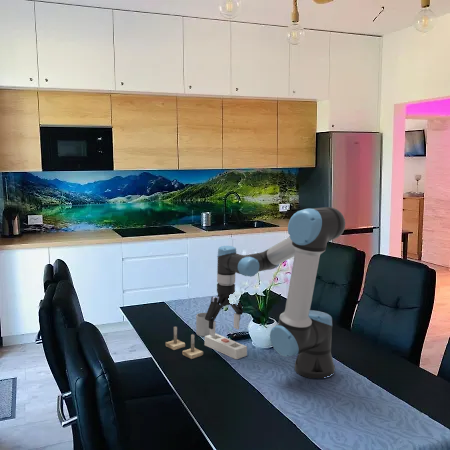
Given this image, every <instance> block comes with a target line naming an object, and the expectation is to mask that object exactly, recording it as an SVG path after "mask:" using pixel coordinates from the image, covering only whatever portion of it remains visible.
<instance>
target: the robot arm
mask: <svg viewBox="0 0 450 450" xmlns="http://www.w3.org/2000/svg"><path fill="white" fill-rule="evenodd" d="M287 224H288V225H287V233H288V235H289V237H286V238H285V239H283V240H281V241H280V242H277V243H276V244H274V245H273V246H271V247H269V248H268V249H265V250H264V251H261V252H256V253H250V254H245V255H244V254H239V253H237V248H236V247H235V246H233V245H221V246H219V247H218V250H217V256H216V257H217V269H216V270H217V271H216V273H217V275H216V278H217V279H216V282H217V284H216V293H217V296H211V299H210V303H209V306H208V309H207V312H206V313H207V314H206V316H205V320H207V321H209V328H210V335H211V336H213V337H215V333H216V324H217V322H216V318H217V316H218V314H219V313H220V311H221V310H222V309H223V308H224V307H226V306H231V308H232V310H234V313H233V328H234V329H236V330H240V321H241V316H242V315H243V313H244V312H243V309H242V305H243V304H242V305H241V303H240V301H239V303H238V305H237V304H236V303H235V304H233V305H232V304H230V303H229V300H228V298H229V295H230V294H233V293H234V292H235V291H236V284H235V283H236V274H238V275H241V276H244V277H255V276H256V275H257V274H258V272H259V273H260V272H265V271H269V270H274V269H277V268H278V267H280V264H282V263H284V262H286V261H287V260H290V259H291V258H293V261H292V268H291V273H290V280H289V285H288V292H287V296H286V297H287V298H286V302H285V309H284V311H282V313H280V314H279V319H278V324H276V325H275V326H273V327H272V328H271V330H270V332H269V333H270V334H269V339H270V343H271V345H272V347H273V349H274V351H275V352H276V353H277V354H279V355H280V356H281V357H285V358H289V357H295V356H297V357H296V359H295V362H294V371H295V373H297V374H298V375H300V376H301V375H302V377H304V378H307V377H309V378H308V379H312V378H324V377H327V376H330V375H331V374H333V373H334V371H336V370H335V368H336V367H335V364H334V360H333V356H332V335H333V334H332V333H333V317H332V316H331V315H330V314H329V313H327V312H323V311H320V310H313V309H311V306H312V301H313V295H314V290H315V284H316V278H317V273H318V269H319V263H320V258H321V257H320V256H321V255H322V254H323V253H324V252H326V250H327V243H328V242H331V241H332V240H336V239H338V238H339V237H341V236H342V235H343V233H344V231H345V229H346V219H345V217H344V215H343V213H342V212H341V211H340V210H338V209H337V208H335V207H332V206H331V207H330V206H327V207H315V208H311V207H310V208H304V209H301V210H297V211H296V212H295V213H293V215H292V216H291V217H290V219H289V221H288V223H287ZM334 374H335V373H334Z"/></svg>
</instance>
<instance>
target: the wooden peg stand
mask: <svg viewBox="0 0 450 450" xmlns="http://www.w3.org/2000/svg"><path fill="white" fill-rule="evenodd" d="M165 347H167V348H169V349H171V350H173V351H175V350H179V349H181V348H185V347H186V343H185V342H184V341H181V340H180V339H178V326H173V339H172V340H171V341H165ZM182 355H183V356H185V357H186V358H189V359H190V360H192V359H196V358H199V357H202V356H203V355H204V351H203V350H200V349H198V348H196V347H195V334H191V335H190V348H188V349H184V350H182Z"/></svg>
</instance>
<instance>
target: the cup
mask: <svg viewBox="0 0 450 450" xmlns="http://www.w3.org/2000/svg"><path fill="white" fill-rule="evenodd" d="M206 314H207V312H200V313H196V315H195V317H196V318H195V320H196V321H195V333H196V335H197V336H198V337H205V336H207V335H210V328H209V321H207V320H205V316H206Z"/></svg>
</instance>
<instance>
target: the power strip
mask: <svg viewBox="0 0 450 450" xmlns="http://www.w3.org/2000/svg"><path fill="white" fill-rule="evenodd" d="M204 346H205V347H208V348H210V349H213V350H214V351H217V352H219V353H221V354H222V355H226V356H228V357H230V358H231V359H234V360H239V359H242V358H243V357H247V355H248V346H247V345H244V344H242V343H240V342H237V341H235V340H232V339H230V338H228V337H226V336H223V335H221V334H219V333H217V332H215V337H213V336H211V335H207V336H204Z"/></svg>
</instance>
